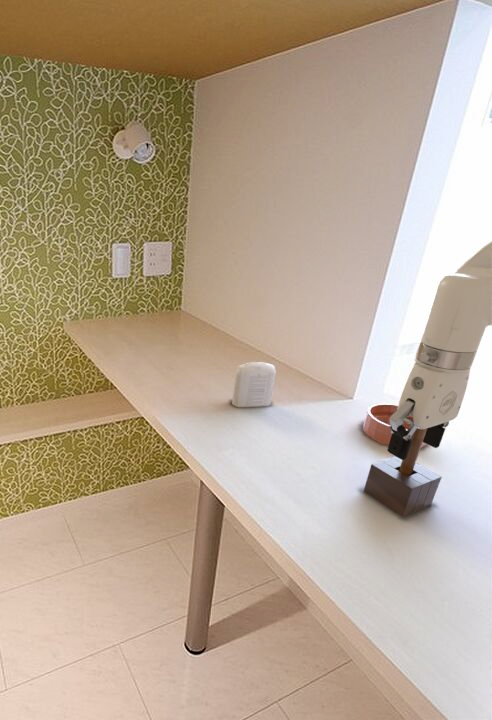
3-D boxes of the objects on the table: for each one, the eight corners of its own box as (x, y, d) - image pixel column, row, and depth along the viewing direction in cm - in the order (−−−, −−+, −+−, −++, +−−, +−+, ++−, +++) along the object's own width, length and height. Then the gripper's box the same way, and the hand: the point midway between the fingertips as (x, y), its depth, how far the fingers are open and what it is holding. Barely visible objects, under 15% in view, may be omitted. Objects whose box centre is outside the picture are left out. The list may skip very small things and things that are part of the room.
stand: (390, 483, 86) (400, 453, 83) (430, 508, 79) (442, 476, 76) (362, 494, 82) (371, 464, 79) (401, 521, 76) (412, 489, 73)
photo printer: (266, 401, 118) (272, 358, 113) (272, 408, 114) (279, 364, 109) (229, 403, 117) (234, 360, 111) (234, 410, 113) (240, 366, 107)
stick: (398, 498, 82) (423, 424, 75) (403, 505, 80) (429, 430, 73) (387, 497, 82) (411, 423, 75) (392, 504, 80) (417, 429, 73)
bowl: (408, 424, 107) (414, 404, 105) (437, 454, 95) (445, 432, 93) (353, 422, 108) (358, 402, 106) (375, 451, 96) (381, 429, 94)
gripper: (432, 373, 62) (399, 473, 69) (502, 355, 69) (464, 449, 76) (385, 356, 68) (359, 450, 75) (453, 341, 75) (423, 429, 82)
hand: (412, 449), depth 76 cm, fingers open, 8 cm apart
